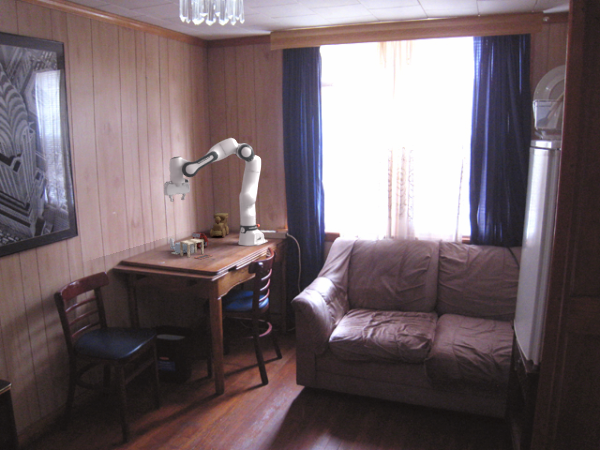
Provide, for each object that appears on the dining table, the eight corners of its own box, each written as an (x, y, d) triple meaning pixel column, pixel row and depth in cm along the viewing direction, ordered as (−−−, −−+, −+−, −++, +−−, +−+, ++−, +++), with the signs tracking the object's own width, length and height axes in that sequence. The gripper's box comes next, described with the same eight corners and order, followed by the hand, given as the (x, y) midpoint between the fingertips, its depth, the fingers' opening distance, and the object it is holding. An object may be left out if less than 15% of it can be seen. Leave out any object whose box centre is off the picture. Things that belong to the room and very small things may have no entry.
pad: (182, 250, 342) (182, 250, 342) (188, 251, 338) (188, 251, 338) (170, 253, 334) (170, 252, 334) (176, 254, 330) (176, 254, 330)
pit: (205, 255, 328) (205, 254, 328) (212, 256, 325) (212, 255, 325) (194, 258, 320) (194, 257, 320) (200, 259, 317) (200, 258, 317)
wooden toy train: (216, 233, 402) (215, 212, 399) (230, 233, 400) (229, 213, 397) (209, 238, 382) (208, 216, 379) (223, 238, 381) (223, 217, 378)
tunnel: (195, 252, 336) (195, 238, 334) (203, 253, 332) (203, 239, 330) (180, 255, 326) (179, 241, 324) (188, 257, 321) (188, 243, 320)
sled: (174, 248, 343) (174, 237, 342) (197, 253, 330) (196, 241, 329) (167, 250, 339) (166, 239, 337) (190, 255, 325) (189, 243, 324)
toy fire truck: (205, 249, 346) (204, 234, 344) (190, 247, 350) (189, 233, 349) (210, 247, 352) (210, 232, 350) (195, 245, 357) (195, 231, 355)
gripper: (167, 182, 331) (168, 202, 333) (191, 179, 347) (191, 199, 350) (161, 181, 335) (162, 202, 337) (185, 179, 351) (185, 198, 353)
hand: (177, 200), depth 343 cm, fingers open, 8 cm apart
